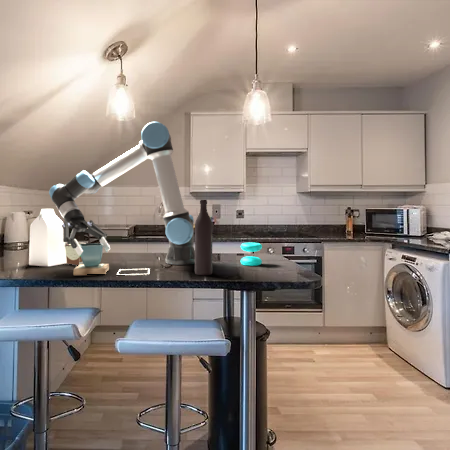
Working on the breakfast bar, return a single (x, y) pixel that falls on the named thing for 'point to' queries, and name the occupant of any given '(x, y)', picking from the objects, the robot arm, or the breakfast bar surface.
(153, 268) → the breakfast bar surface
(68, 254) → the food container
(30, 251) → the milk
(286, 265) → the breakfast bar surface
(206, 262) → the wine bottle
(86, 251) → the flower pot
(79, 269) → the bread slice
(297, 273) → the breakfast bar surface
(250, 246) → the pair of cyan ovals
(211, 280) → the breakfast bar surface
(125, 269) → the seat outline
